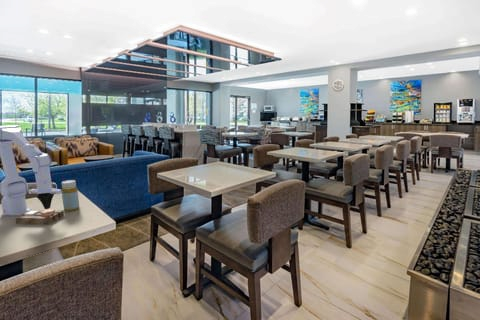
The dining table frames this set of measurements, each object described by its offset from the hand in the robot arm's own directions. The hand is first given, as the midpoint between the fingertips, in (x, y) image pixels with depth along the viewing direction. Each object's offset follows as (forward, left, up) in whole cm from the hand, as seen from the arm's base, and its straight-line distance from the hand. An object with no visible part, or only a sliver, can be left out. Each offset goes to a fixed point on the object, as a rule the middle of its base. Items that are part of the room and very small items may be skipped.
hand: (47, 208), depth 132 cm
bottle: (+2, +14, -6) cm, 15 cm away
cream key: (-8, 0, -5) cm, 10 cm away
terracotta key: (0, 0, -4) cm, 4 cm away
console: (-4, 0, -6) cm, 7 cm away
